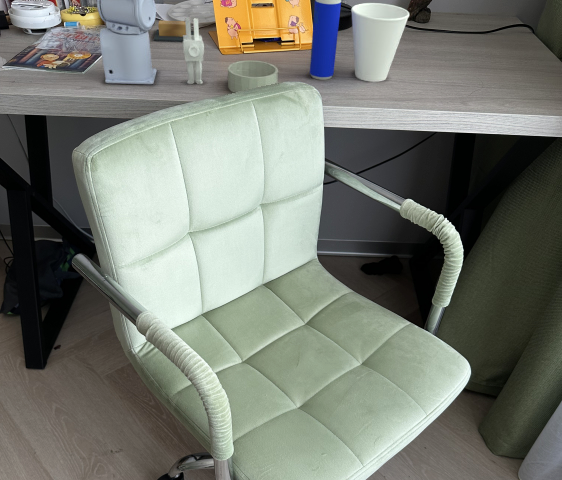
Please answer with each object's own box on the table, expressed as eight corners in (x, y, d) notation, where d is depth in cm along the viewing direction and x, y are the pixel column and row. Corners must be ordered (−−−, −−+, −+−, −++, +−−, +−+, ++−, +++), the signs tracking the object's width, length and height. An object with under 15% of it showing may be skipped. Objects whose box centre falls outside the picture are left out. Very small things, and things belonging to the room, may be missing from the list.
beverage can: (318, 70, 126) (325, -10, 115) (337, 76, 124) (346, -5, 113) (304, 76, 123) (310, -6, 112) (323, 82, 121) (331, -1, 110)
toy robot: (186, 91, 114) (181, 22, 105) (184, 77, 119) (180, 11, 111) (206, 91, 115) (203, 23, 106) (203, 77, 120) (200, 11, 111)
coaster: (153, 40, 135) (153, 39, 134) (156, 31, 140) (156, 29, 140) (192, 42, 135) (192, 40, 135) (193, 32, 141) (193, 30, 140)
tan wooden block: (159, 35, 136) (158, 23, 134) (160, 32, 138) (159, 20, 136) (189, 36, 137) (188, 24, 135) (189, 33, 139) (188, 21, 137)
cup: (332, 73, 125) (339, 7, 116) (368, 63, 131) (377, -1, 122) (373, 90, 119) (383, 22, 110) (409, 78, 125) (421, 13, 116)
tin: (228, 95, 113) (227, 77, 111) (228, 77, 120) (227, 59, 118) (278, 97, 114) (279, 78, 112) (275, 79, 121) (276, 61, 119)
